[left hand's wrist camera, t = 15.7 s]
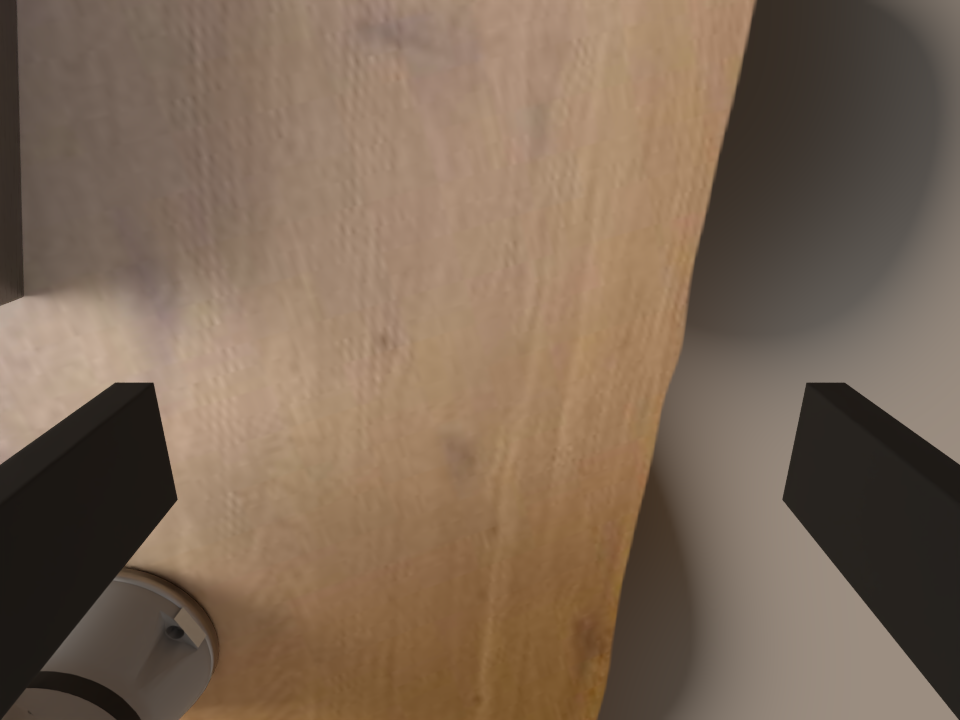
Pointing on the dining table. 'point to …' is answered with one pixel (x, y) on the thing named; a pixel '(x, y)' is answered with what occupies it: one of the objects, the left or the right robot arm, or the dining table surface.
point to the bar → (9, 160)
